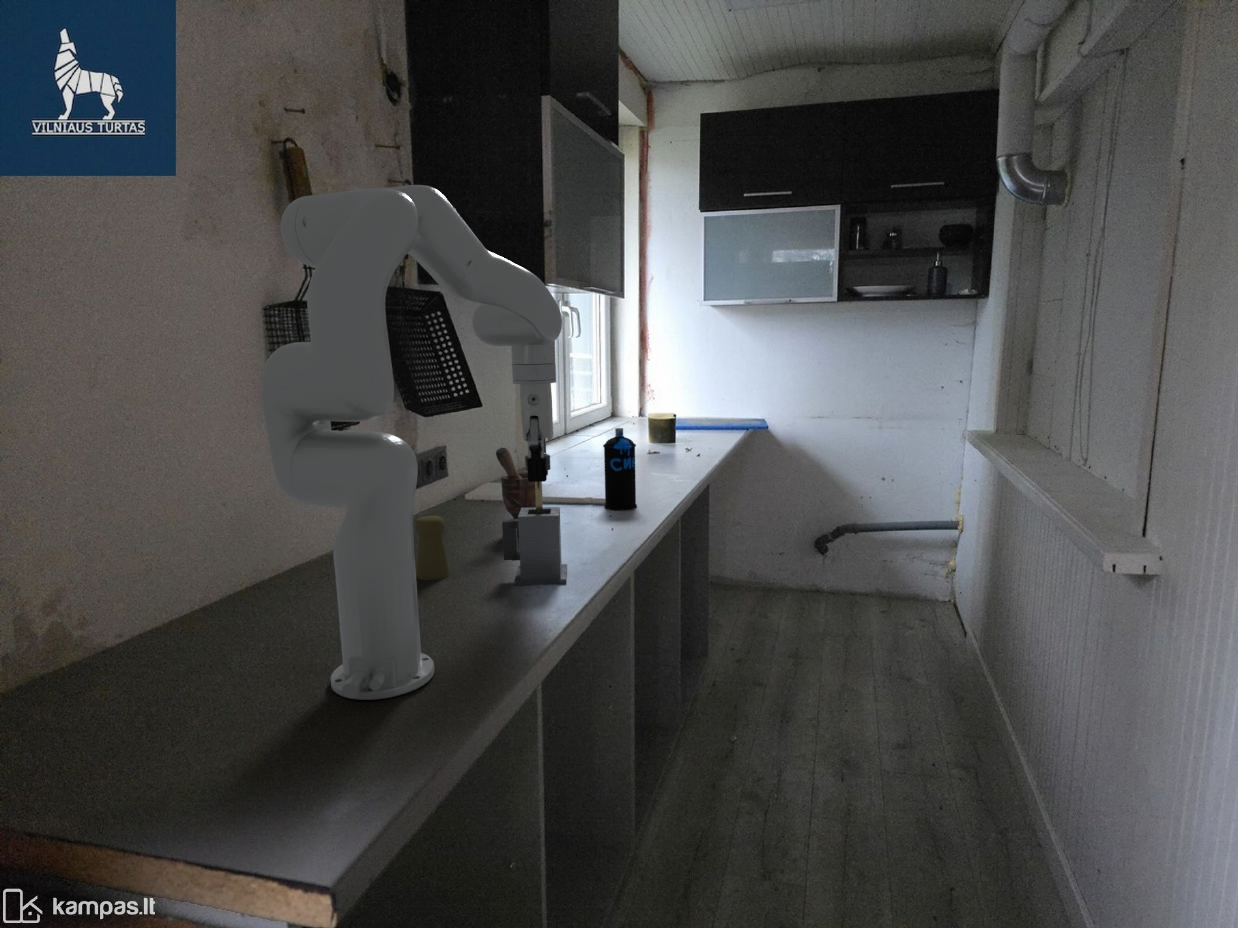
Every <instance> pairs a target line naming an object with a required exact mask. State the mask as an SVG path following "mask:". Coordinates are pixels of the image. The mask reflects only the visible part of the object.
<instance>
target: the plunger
mask: <svg viewBox="0 0 1238 928" xmlns="http://www.w3.org/2000/svg"><path fill="white" fill-rule="evenodd" d="M544 458H546V471H547V470H548V471H550V470H551V455H550V454H548V453H544ZM527 459H528V454H526V455H524V468H525V469H524V470H525V472H528V468H527ZM535 496H536V514H543V507H544V505H543V502H544V501H543V482H535Z"/></svg>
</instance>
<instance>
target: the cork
mask: <svg viewBox="0 0 1238 928" xmlns="http://www.w3.org/2000/svg"><path fill="white" fill-rule="evenodd" d="M445 528H446V524H445V520H444V518H443V517H441V516H438V515H424V516H421V517H419V518H418V519H417V520H416V521H415V531H416V534H417V535H418V547H417V549H418V550H417V562H416V563H417V564H416V579H417V580H421V581H437V580H442V579H445V578H448V577H449V576H450V575H451V572H450V567H449V563H448V557H447V552H446V547H445V542H444V537H443V533H444V532H445ZM447 576H448V577H447Z"/></svg>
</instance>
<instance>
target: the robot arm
mask: <svg viewBox="0 0 1238 928" xmlns="http://www.w3.org/2000/svg"><path fill="white" fill-rule="evenodd" d="M280 233H281V235H280V236H281V239H282V241H283V244H284V246H285V247H286V249H287V251H288V252H289V254H291V256H292V257H293V258H295V260H296V261H299V262H300V263H301V264H303V265H306V266H308V267H311V268H314V271H313V273H312V276H311V278H310V281H309V283H308V288H307V295H306V296H307V298H306V304H307V314H308V315H307V316H308V317H307V318H308V324H309V325H308V327H309V334H310V341H300V342H292V343H288V344H284V345H282V346H280V347H278V348H276V349H275V350H274V351H273V352H272V353H271V354H270V356H269V357H268V358H267V360H266V362H265V364H264V365H263V369H262V373H261V377H260V395H261V396H260V397H261V405H262V411H263V416H264V422H265V429H266V433H267V440H268V446H269V450H270V456H271V461H272V466H273V467H272V468H273V472H274V475H275V478H276V481H277V484H278V486H279V487H280V489H281V491H282V492H283V493H284V495H285V496H286V497H287V498H289V499H290V500H291V501H294V502H296V503H299V504H302V505H306V506H314V507H315V506H316V507H326V508H328V507H329V508H338V509H344V510H345V514H344V518H343V519H342V522H341V523H340V525H339V527H338V529H337V532H336V535H335V537H334V541H333V548H332V549H333V551H332V552H333V555H332V556H333V564H334V574H335V575H334V576H335V585H336V586H335V587H336V595H337V596H336V597H337V599H336V600H337V610H338V621H339V635H340V644H341V656H342V657H341V658H342V664H340V665H339V666H337V668H336V669H335V670H333V672H332V673H331V676H330V685H331V686H330V687H331V690H332V691H333V692H334V693H336V694H337V695H339V696H341V697H343V698H347V699H351V700H360V701H361V700H362V701H370V700H371V701H372V700H373V701H374V700H383V699H388V698H393V697H398V696H401V695H404V694H408V693H411V692H412V691H415V690H417V689H419V688H420V687H422V686H424V685H426V684H427V683H428V682H429V681H430V680H431V679H432V678H433V677H434V674H435V663H434V660H433V659H432V658H431V656H429V655H427V654H425V653H423V652H422V650H421V649H422V648H421V647H422V646H421V633H420V619H419V618H420V617H419V616H420V615H419V602H418V601H419V600H418V587H417V585H418V584H417V578H416V574H417V568H416V559H415V558H416V557H415V544H414V506H415V496H416V489H417V482H418V471H419V469H418V461H417V456H416V454H415V452H414V450H413V449H412V447H411V446H410V445H409V443H407V442H406V441H405V440H403V439H402V438H401V437H398V436H397V435H394V434H390V433H386V432H381V431H371V430H370V431H369V430H332V425H331V424H332V423H331V422H342V423H343V422H347V423H350V422H353V423H355V422H367V421H374V420H376V419H380V418H382V417H384V415H387V413H389V411H390V409H391V407H393V402H394V397H395V388H394V387H395V383H394V382H395V381H394V374H393V373H394V372H393V366H392V365H393V364H392V358H391V357H392V355H391V349H390V343H389V342H390V341H389V333H388V327H387V314H386V295H387V291H388V286H389V283H390V282H391V278H392V277H393V274H394V273H395V272H396V271H395V270H396V269H397V267H398V266H399V264H400V263H401V262H402V261H403V259H404V258H405V257H406V256H407V255H410V256H411V257H412V258H413V259H414V260H415V261H416V262H417V263H418V264H419V265H420V266H421V267H422V268H423V269H424V270H425V271H426V272H427V273H428V274H429V275H430V276H431V278H432V279H433V280H434V281H435V283H437V284H438V286H440V288H442V290H444V291H445V292H446V293H448V294H450V295H452V296H453V297H456V298H460V299H463V300H467V301H469V302H475V303H479V305H478V306H477V307H476V309H475V311H474V312H473V315H472V319H471V321H472V322H471V324H472V327H473V328H472V330H473V332H474V333H475V336H476V337H477V338H478V339H479V340H480V341H481V342H483V343H484V344H486V345H489V346H493V347H510V349H511V364H512V365H511V369H512V371H511V372H512V373H511V374H512V384H514V385H519V398H520V399H519V400H520V401H519V403H520V415H521V416H520V418H521V419H520V420H521V427H522V438H523V441H525V442H526V443H527V455H528V459H527V468H528V471H527V472H528V481H529V482H542V483H543V482H546V481H547V480H548V479H547V476H548V475H549V470H547V471H546V458H544V454H547V443H546V441H548V442H550V441H551V440H553V437H554V425H553V424H554V419H553V399H552V398H553V397H552V396H553V395H552V387H551V386H552V385H551V384H554V383H555V384H556V383H557V364H556V363H557V362H556V340H557V339H558V337H559V336H560V334H561V331H562V327H563V319H562V313H561V309H560V307H559V305H558V303H557V300H556V299H555V298H554V295H552V293H551V291H550V290H549V288H547V286H546V285H545V283H544V282H543V281H542V279H540V278H539V277H538V276H537V275H536V274H534V273H532V272H531V271H529V270H528V269H526V268H524V267H522V266H520V265H518V264H516V263H514V262H512V261H511V260H508V259H507V258H504V257H503V256H500V255H498V254H496V253H494V252H491V251H489V250H488V249H486V247H485V246H484V245H483V243H482V242H481V240H479V238H478V237H477V236H476V234H475V233H474V232H473V230H472V229H471V228H470V227H469V225H468V224H467V223H466V222H465V220H464V219H463V217H461V215H460V213H458V212H457V210H456V208H455V207H454V206H453V205H452V204H451V202H450V201H449V200H448V198H447V197H446V196H445V195H444V194H442V192H441V191H439V190H438V189H436V188H434V187H432V186H429V185H423V184H411V185H399V186H392V187H381V188H375V187H374V188H363V189H361V188H360V189H354V190H345V191H340V192H331V193H323V194H313V195H305V196H301V197H298V198H296V199H294V200H293V201H292V202H290V203H289V204H288V206H286V208H285V210H284V212H283V214H282V217H281V221H280ZM546 439H547V440H546Z"/></svg>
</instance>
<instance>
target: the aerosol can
mask: <svg viewBox="0 0 1238 928" xmlns="http://www.w3.org/2000/svg"><path fill="white" fill-rule="evenodd" d="M614 430H615V431H614V433H615V436H613V437H611V438H610V439H608V440H607V441H606V442H605V443H604V444H603V445H602V447H603V450H604V452H603V454H604V455H603V456H604V495H605V497H604V499H605V500H604V501H605V504H604V505H603V506H604V508H605V509H607V510H609V511H629V510H633V509H636V508H637V507H638V506H637V505H638V504H637V499H636V498H637V495H636V493H637V491H636V489H637V488H636V484H637V483H636V446H637V445H636V443H634V441H633V440H632V439H631V438H628V437H625V436H624V428H623V427H615V429H614Z"/></svg>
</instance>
